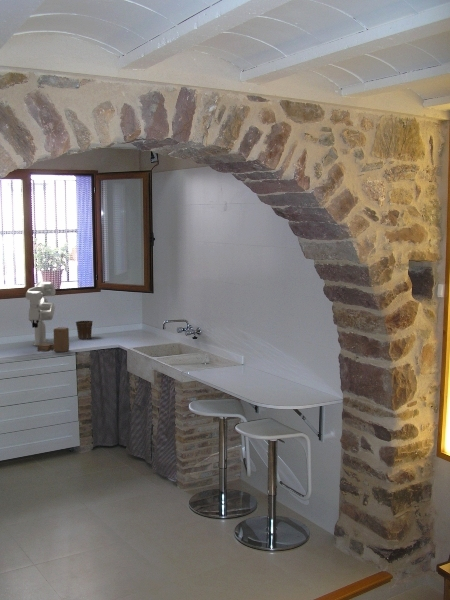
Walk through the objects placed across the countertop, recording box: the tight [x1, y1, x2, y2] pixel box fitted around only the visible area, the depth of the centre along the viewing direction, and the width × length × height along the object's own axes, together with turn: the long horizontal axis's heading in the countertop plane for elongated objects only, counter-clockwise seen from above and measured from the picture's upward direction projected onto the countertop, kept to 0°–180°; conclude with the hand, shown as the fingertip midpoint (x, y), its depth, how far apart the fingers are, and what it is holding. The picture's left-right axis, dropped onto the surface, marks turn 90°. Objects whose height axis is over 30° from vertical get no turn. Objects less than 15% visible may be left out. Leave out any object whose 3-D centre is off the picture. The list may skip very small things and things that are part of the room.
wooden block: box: [53, 326, 70, 353], centre depth 577 cm, size 10×10×20 cm
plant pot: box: [75, 320, 93, 340], centre depth 641 cm, size 16×16×16 cm
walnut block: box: [37, 342, 54, 352], centre depth 584 cm, size 10×10×5 cm
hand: (35, 327), depth 586 cm, fingers closed
